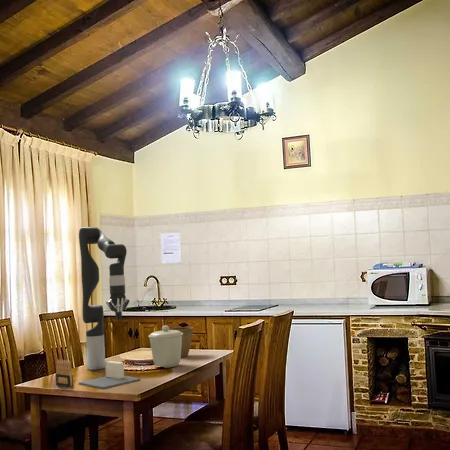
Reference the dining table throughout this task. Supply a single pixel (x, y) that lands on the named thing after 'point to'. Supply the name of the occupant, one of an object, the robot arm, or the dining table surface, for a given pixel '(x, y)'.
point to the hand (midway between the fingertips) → (118, 319)
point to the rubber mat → (108, 382)
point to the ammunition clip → (64, 373)
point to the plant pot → (185, 339)
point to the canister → (166, 347)
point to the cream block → (114, 369)
